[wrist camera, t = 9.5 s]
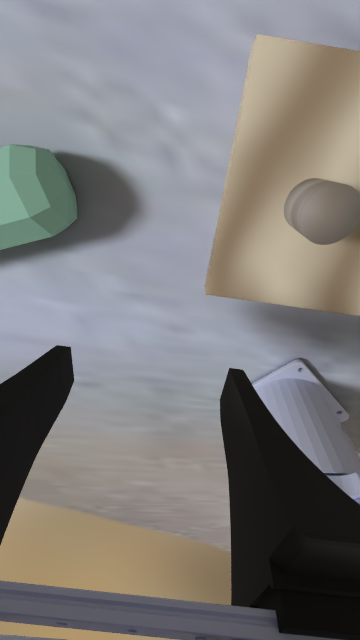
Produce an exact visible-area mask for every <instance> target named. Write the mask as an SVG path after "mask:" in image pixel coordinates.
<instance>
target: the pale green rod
mask: <svg viewBox="0 0 360 640" xmlns="http://www.w3.org/2000/svg"><path fill="white" fill-rule="evenodd" d="M76 219H77V202H76V195H75V193H74V190H73V188H72V185H71V183H70V180H69V178H68V176H67V173H66V171H65V169H64V168H63V167H62V165H61V164H60V163H59V162H58V160H57V159H56V158H55V157H54V155H53V154H52V153H51V151H50V150H49V149H44V148H39V147H33V146H26V145H7V146H4V147H1V148H0V250H2V249H6V248H10V247H14V246H18V245H22V244H26V243H29V242H33V241H37V240H41V239H45V238H49V237H53V236H55V235H56V234H58V233H60V232H61V231H63V230H65V229H66V228H67V227H68V226H69V225H71V224H72V223H73V222H74V221H75V220H76Z"/></svg>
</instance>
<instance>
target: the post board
mask: <svg viewBox="0 0 360 640" xmlns="http://www.w3.org/2000/svg"><path fill="white" fill-rule="evenodd" d="M205 294H206V295H213V296H220V297H227V298H234V299H242V300H249V301H256V302H263V303H270V304H278V305H285V306H292V307H299V308H306V309H314V310H321V311H328V312H335V313H342V314H349V315H357V316H360V51H355V50H349V49H343V48H337V47H331V46H325V45H319V44H313V43H307V42H301V41H295V40H289V39H283V38H277V37H271V36H265V35H259V34H258V35H257V37H256V38H255V40H254V42H253V44H252V47H251V52H250V57H249V62H248V67H247V73H246V78H245V83H244V88H243V93H242V98H241V103H240V108H239V114H238V119H237V124H236V129H235V134H234V139H233V144H232V149H231V154H230V160H229V165H228V170H227V175H226V180H225V185H224V190H223V195H222V200H221V206H220V211H219V216H218V221H217V226H216V231H215V236H214V241H213V247H212V252H211V257H210V262H209V267H208V272H207V277H206V282H205Z"/></svg>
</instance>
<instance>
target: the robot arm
mask: <svg viewBox="0 0 360 640" xmlns="http://www.w3.org/2000/svg"><path fill="white" fill-rule="evenodd" d="M299 368H301V369H299ZM73 382H74V374H73V365H72V355H71V347H66V346H58V345H57V346H55V347H54V348H52V349H51V350H50V351H48V352H47V353H45V354H44V355H43V356H41V357H40V358H38V359H37V360H36V361H34V362H33V363H31V364H30V365H29V366H27V367H26V368H24V369H23V370H21V371H20V372H18V373H17V374H16V375H14V376H12V377H11V378H9V379H8V380H6V381H4V382H3V383H1V384H0V545H1V542H2V539H3V536H4V533H5V531H6V528H7V526H8V523H9V520H10V518H11V515H12V513H13V510H14V507H15V505H16V503H17V500H18V498H19V495H20V493H21V490H22V488H23V486H24V483H25V481H26V478H27V476H28V474H29V471H30V469H31V467H32V464H33V462H34V460H35V458H36V455H37V454H38V452H39V450H40V448H41V446H42V444H43V442H44V440H45V438H46V437H47V435H48V433H49V431H50V429H51V428H52V426H53V424H54V422H55V420H56V419H57V417H58V415H59V413H60V411H61V409H62V408H63V406H64V404H65V402H66V400H67V397H68V395H69V393H70V390H71V387H72V385H73ZM220 417H221V427H222V434H223V441H224V448H225V455H226V462H227V469H228V478H229V496H230V521H231V565H232V566H231V573H232V575H231V578H232V579H231V581H232V600H231V601H232V602H231V605H220V604H211V603H203V602H193V601H184V600H175V599H166V598H156V597H147V596H138V595H128V594H119V593H110V592H100V591H90V590H82V589H73V588H63V587H53V586H45V585H35V584H27V583H17V582H8V581H0V621H6V622H15V623H25V624H35V625H44V626H53V627H64V628H73V629H82V630H92V631H102V632H112V633H121V634H131V635H141V636H150V637H160V638H169V639H180V640H360V458H359V456H358V454H357V452H356V450H355V449H354V447H353V445H352V443H351V441H350V439H349V437H348V435H347V434H346V432H345V430H344V428H343V426H342V424H341V422H344V421H346V420H348V419H349V415H348V413H347V412H346V411H345V409H344V408H343V407H342V406H341V405H340V404H339V402H338V401H337V400H336V399H335V398H334V397H333V396H332V394H331V393H330V392H329V391H328V390H327V389H326V388H325V386H324V385H323V384H322V383H321V382H320V381H319V380H318V378H317V377H316V376H315V375H314V374H313V373H312V372H311V370H310V369H309V368H308V367H307V366H306V365H305V364H304V362H303V361H302V360H299V359H296V360H294V361H292V362H290V363H288V364H286V365H285V366H283V367H281V368H279V369H277V370H276V371H274V372H272V373H270V374H269V375H267V376H265V377H263V378H261V379H260V380H258V381H256V382H254V383H252V384H251V382H250V381H249V379H248V377H247V376H246V374H245V372H244V371H243V370H240V369H233V368H229V371H228V375H227V378H226V381H225V385H224V388H223V391H222V395H221V398H220ZM0 640H65V639H53V638H39V637H26V636H16V635H0Z"/></svg>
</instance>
